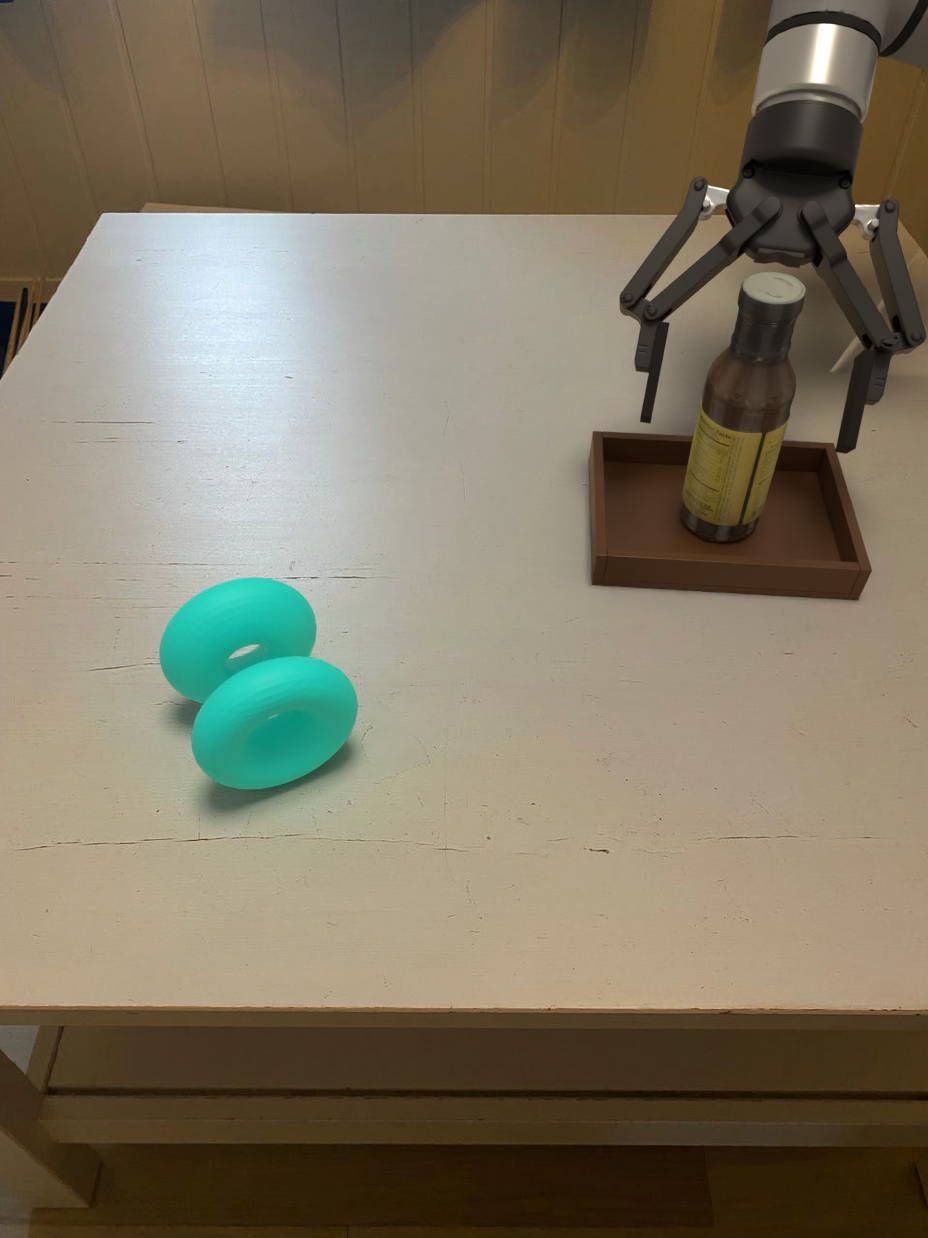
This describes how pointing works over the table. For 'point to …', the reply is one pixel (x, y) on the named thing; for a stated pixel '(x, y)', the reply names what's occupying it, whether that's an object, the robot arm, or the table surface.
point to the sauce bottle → (743, 412)
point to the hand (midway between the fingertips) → (743, 435)
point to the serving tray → (759, 563)
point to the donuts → (256, 684)
